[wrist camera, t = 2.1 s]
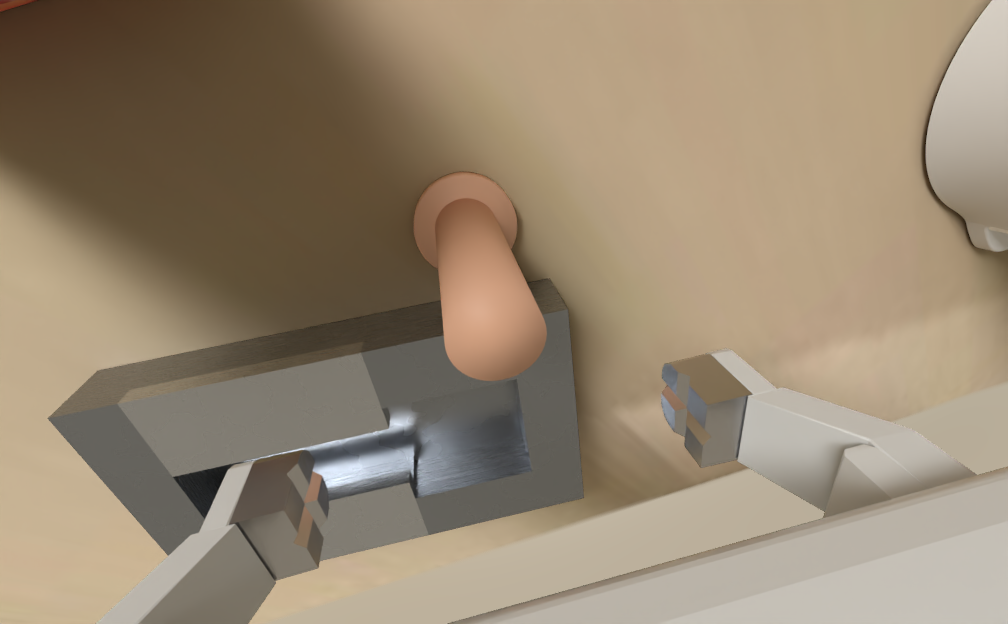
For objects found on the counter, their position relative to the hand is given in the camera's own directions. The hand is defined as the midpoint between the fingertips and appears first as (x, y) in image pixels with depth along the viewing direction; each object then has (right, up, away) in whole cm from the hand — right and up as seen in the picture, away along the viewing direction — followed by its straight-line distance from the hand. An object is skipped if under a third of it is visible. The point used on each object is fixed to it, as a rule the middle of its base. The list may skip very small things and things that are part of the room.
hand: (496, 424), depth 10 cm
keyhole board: (-8, -4, +17) cm, 19 cm away
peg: (-2, +7, +12) cm, 14 cm away
